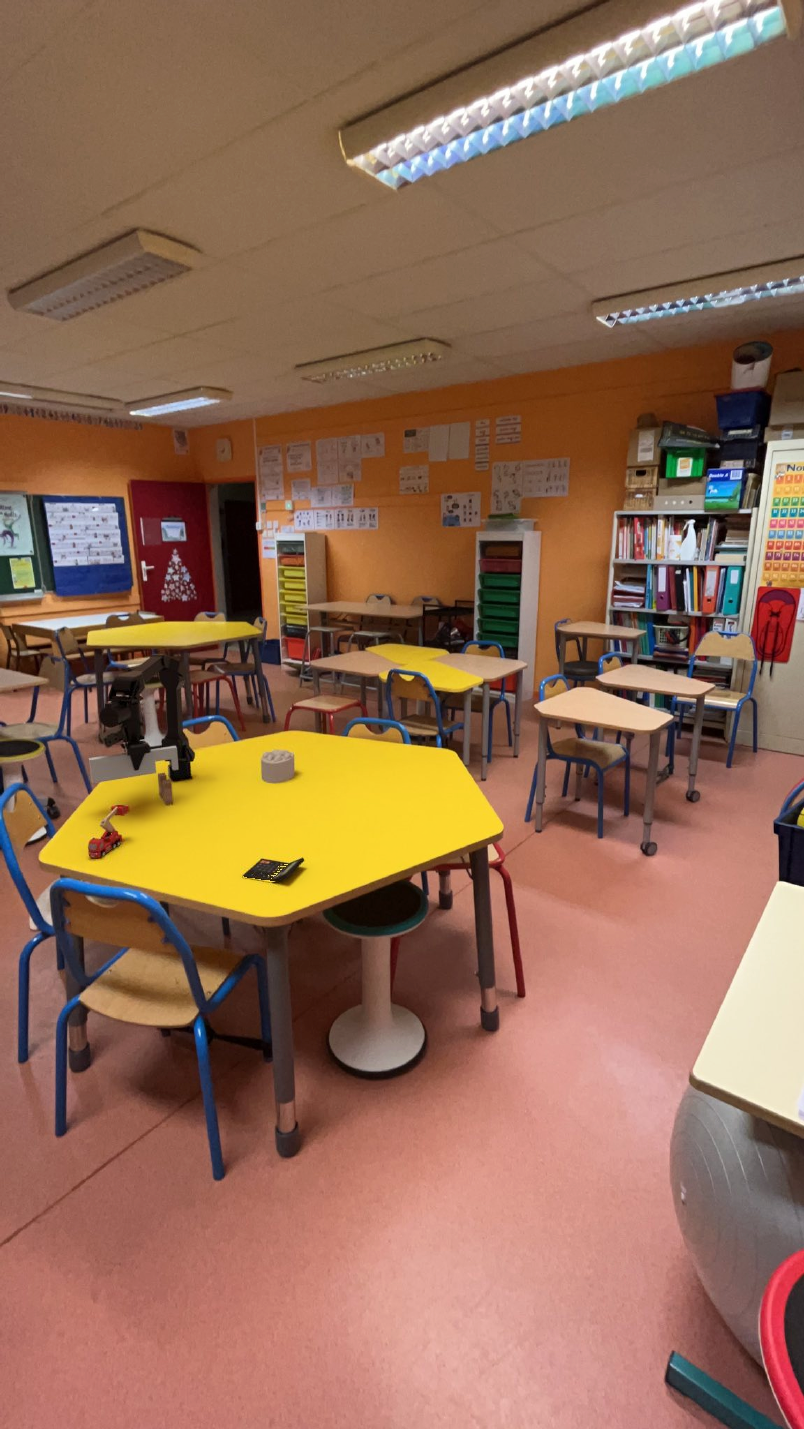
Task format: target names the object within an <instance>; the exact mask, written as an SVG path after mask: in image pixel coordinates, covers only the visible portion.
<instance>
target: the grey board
mask: <svg viewBox="0 0 804 1429" xmlns="http://www.w3.org/2000/svg"><path fill="white" fill-rule="evenodd" d="M150 750H151V752H150V753H146V754H145V755H144V757H143V760H142V762H141V765H140V767H139V770H137V771H135V770H134V768H133V764H132V761H131V758H130V756H128V755H127V754H126V753H125V752H124V753H115V754H109V755H102V756H95V757H88V764H89V772H90V780H91V783H92V784H98V783H104V782H110V781H111V782H112V781H116V780H122V779H129V778H134V777H140V776H141V777H142V776H146V775H154V774H157V766H156V762H161V761H165V760H169V759H171V763H172V769H173V770H178V756H177V747H176V746H170V747H163V748H162V747H157V748H150Z"/></svg>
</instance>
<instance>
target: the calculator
mask: <svg viewBox="0 0 804 1429" xmlns="http://www.w3.org/2000/svg"><path fill="white" fill-rule="evenodd" d="M305 861H306V860H305V859H304V857H300V858H298V859H296V860H293V861H290V862H285V861H280V860H273V859H267V858H260V860H259V861H257V862H256V863H255V864H253V865H252V866H251V868H249V869H248V870H246V872H245V873H243V874H242V877H243V876H244V877H247V878H255V879H261V880H270V881H278V882H280V881H283V880H285V879H288V878H289V877H290V876H291V875H293V873H294V872H295V871H296V870H297V869H298V868H299V867H300V866H301V865H302V864H303V863H304V862H305ZM284 864H288V865H284ZM278 866H279V867H278ZM280 866H286V867H280ZM278 869H279V870H278ZM280 869H282V870H280ZM277 871H280V872H277ZM274 873H278V874H277V875H276V874H274ZM268 875H269V876H268ZM271 875H276V876H274V877H273V876H271ZM247 878H246V879H247ZM271 878H272V879H271Z"/></svg>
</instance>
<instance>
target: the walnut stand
mask: <svg viewBox="0 0 804 1429" xmlns="http://www.w3.org/2000/svg"><path fill="white" fill-rule="evenodd" d="M167 776H168V775H167V774H166V773H165V772H160V773H157V779H158V780H157V781H158V792H159V793H158V794H159V796H160V798H161V800H162V799H163V800H162V801H163V803H164V804H165V806H170V804H171V805H173V804H174V798H173V786H172V785H173V784H172V782H173V781H172V780H171V779H170V778H169V779H168V778H167Z"/></svg>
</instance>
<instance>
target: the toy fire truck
mask: <svg viewBox="0 0 804 1429" xmlns="http://www.w3.org/2000/svg"><path fill="white" fill-rule="evenodd" d="M110 810H111V812H109V813H108V815H106V817H104V818H102V820H101V821H100V824H99V826H100V827H101V828H102V829H103V830H105V831H104V832H103V833H102V834H101V836H100V838H96V837H92V838H91V839H89V841H88V845H87V849H88V850H87V852H88V854H87V855H88V857H90V858H94V859H97V858H98V859H99V858H104V857H105V855H106V854H107V853H109V851H111V850H115V849H116V847H119V846H120V845H121V843H123V835H122V834H119V831H118V830H117V829H116V828H115V827H114V826H113V824H112V823H111V822H110V820H111V819H112V818H113V817H114V816H122V817H123V816H125V815H127V814H128V813H130V807H129V805H125V804H115V805H111V807H110Z"/></svg>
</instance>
